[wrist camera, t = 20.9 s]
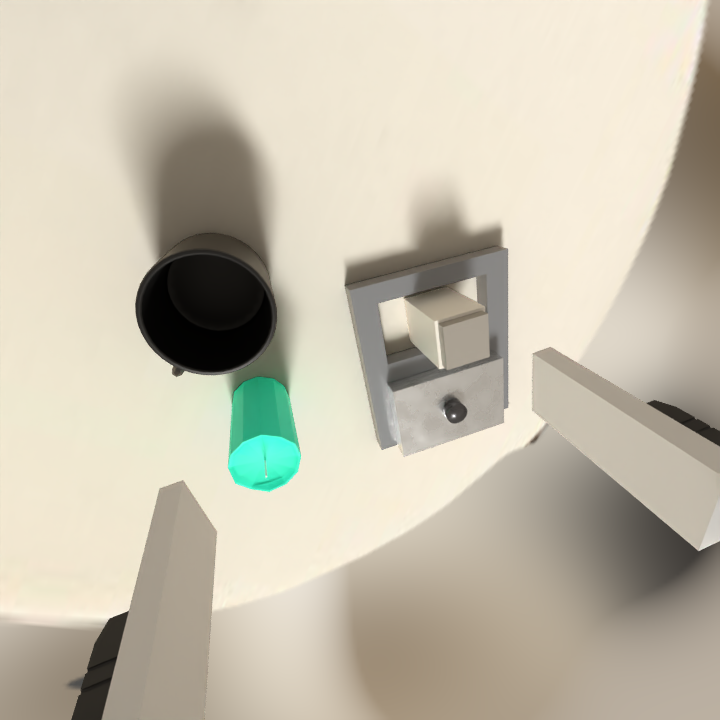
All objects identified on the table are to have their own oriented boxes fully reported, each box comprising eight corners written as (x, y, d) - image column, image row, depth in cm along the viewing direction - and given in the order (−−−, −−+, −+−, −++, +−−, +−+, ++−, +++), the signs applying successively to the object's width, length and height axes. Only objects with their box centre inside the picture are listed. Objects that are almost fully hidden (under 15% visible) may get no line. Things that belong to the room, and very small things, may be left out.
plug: (409, 340, 43) (444, 374, 35) (403, 298, 40) (439, 325, 33) (450, 328, 43) (492, 358, 36) (446, 286, 41) (491, 309, 34)
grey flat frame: (344, 285, 38) (349, 290, 36) (496, 245, 41) (507, 248, 39) (376, 439, 47) (381, 449, 46) (499, 399, 50) (508, 407, 48)
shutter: (386, 383, 42) (396, 398, 39) (493, 350, 44) (509, 362, 41) (397, 446, 46) (407, 463, 43) (494, 413, 48) (509, 428, 45)
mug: (131, 329, 35) (97, 373, 27) (188, 210, 32) (170, 219, 24) (230, 370, 39) (226, 419, 31) (288, 268, 36) (300, 292, 28)
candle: (245, 368, 39) (245, 436, 28) (298, 387, 41) (316, 456, 31) (222, 415, 40) (214, 497, 30) (275, 431, 43) (284, 511, 32)
